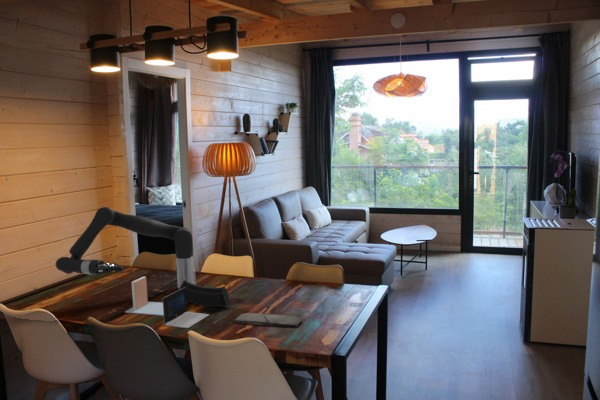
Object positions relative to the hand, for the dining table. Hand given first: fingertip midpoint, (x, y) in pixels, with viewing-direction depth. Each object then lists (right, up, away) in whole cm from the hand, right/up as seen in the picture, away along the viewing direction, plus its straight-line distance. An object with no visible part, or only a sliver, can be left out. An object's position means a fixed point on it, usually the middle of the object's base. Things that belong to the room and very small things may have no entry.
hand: (122, 268), depth 261 cm
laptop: (+36, -21, -20) cm, 47 cm away
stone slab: (+74, -21, -25) cm, 81 cm away
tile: (+9, -19, 0) cm, 21 cm away
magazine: (+40, -18, +2) cm, 44 cm away
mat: (+16, -19, -2) cm, 25 cm away
